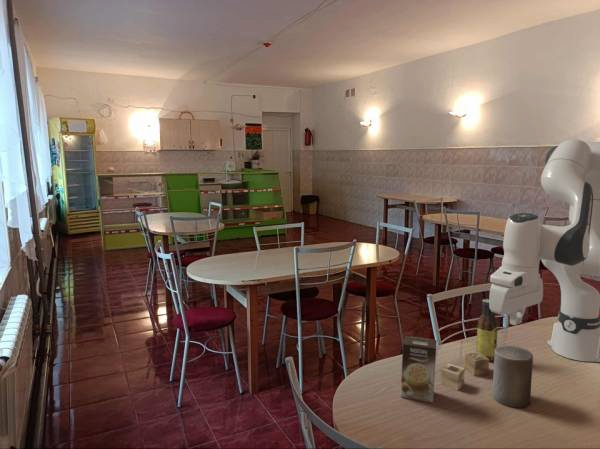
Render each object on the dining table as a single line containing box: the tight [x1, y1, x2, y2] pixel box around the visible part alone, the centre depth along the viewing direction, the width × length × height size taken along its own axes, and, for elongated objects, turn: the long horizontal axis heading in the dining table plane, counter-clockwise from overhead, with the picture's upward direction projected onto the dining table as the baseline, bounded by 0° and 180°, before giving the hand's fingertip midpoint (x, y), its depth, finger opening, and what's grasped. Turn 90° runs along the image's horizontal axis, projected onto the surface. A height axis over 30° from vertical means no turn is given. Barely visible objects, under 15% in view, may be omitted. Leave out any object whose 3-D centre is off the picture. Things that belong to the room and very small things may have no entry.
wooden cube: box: [464, 352, 490, 377], centre depth 138 cm, size 5×5×5 cm
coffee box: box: [399, 334, 437, 403], centre depth 124 cm, size 9×6×16 cm
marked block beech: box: [440, 363, 466, 391], centre depth 130 cm, size 5×5×5 cm
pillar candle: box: [492, 344, 534, 409], centre depth 121 cm, size 10×10×15 cm
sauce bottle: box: [475, 298, 499, 362], centre depth 146 cm, size 6×6×20 cm
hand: (515, 323), depth 119 cm, fingers closed
